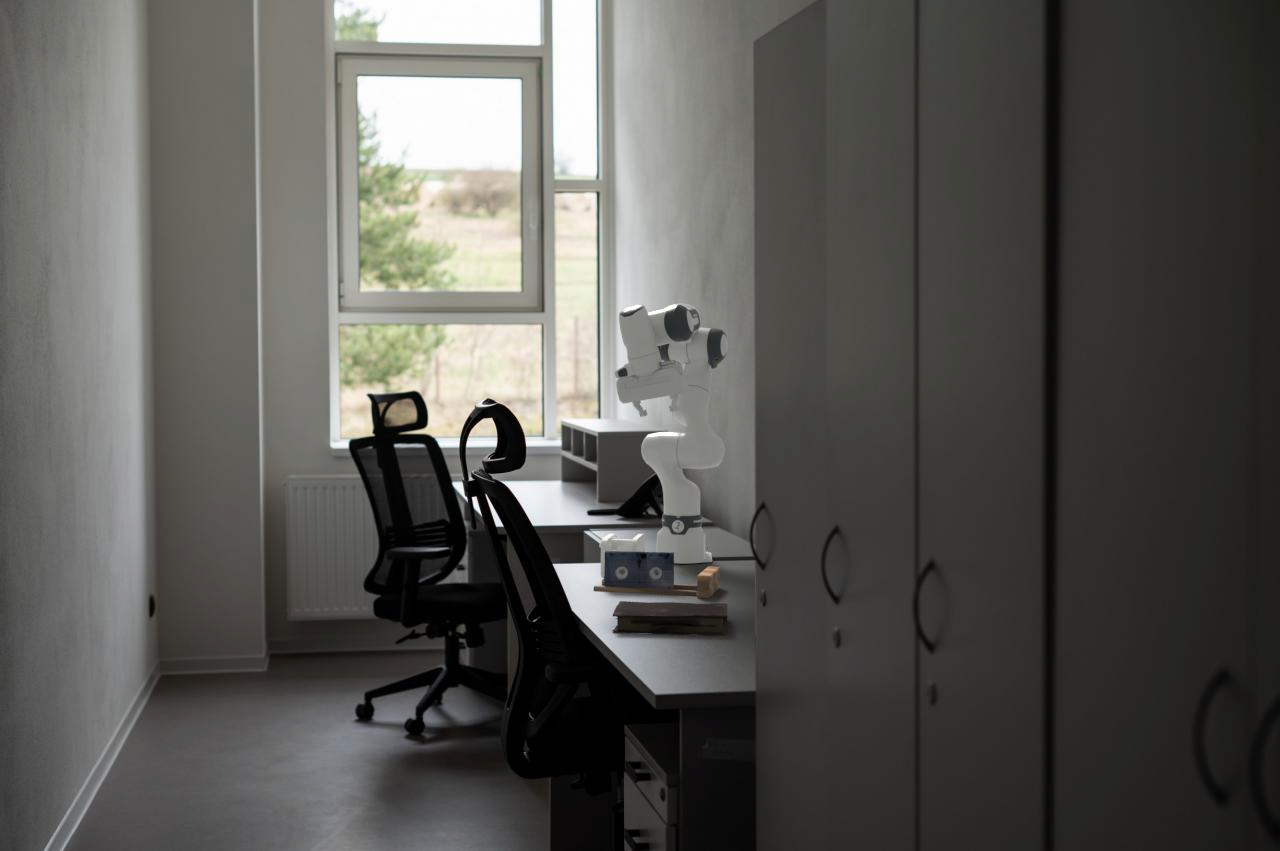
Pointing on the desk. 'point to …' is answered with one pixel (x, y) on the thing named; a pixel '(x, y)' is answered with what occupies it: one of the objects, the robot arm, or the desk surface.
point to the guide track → (679, 586)
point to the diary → (671, 618)
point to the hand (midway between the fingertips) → (658, 413)
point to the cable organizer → (620, 546)
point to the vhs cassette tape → (639, 569)
